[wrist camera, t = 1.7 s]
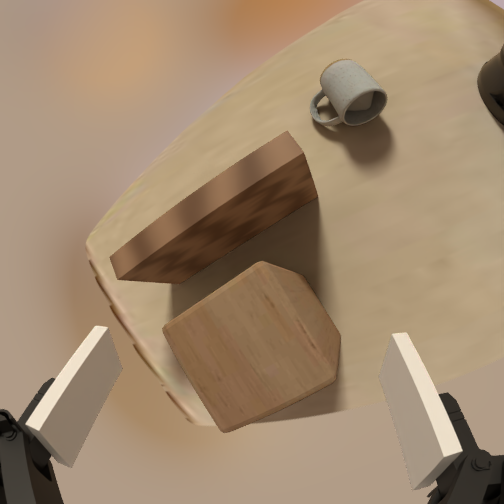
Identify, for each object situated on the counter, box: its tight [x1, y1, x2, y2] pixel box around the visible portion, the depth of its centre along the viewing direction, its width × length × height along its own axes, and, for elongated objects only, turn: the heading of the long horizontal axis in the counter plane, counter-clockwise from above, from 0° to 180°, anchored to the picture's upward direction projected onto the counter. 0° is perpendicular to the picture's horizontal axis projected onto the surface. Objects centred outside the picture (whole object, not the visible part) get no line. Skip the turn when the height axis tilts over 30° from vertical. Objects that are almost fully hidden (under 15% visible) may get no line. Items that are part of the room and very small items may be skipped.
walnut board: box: [110, 131, 318, 284], centre depth 36 cm, size 24×3×14 cm, turn 119°
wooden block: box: [162, 261, 341, 433], centre depth 30 cm, size 10×10×20 cm
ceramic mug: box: [310, 59, 387, 126], centre depth 37 cm, size 11×8×8 cm
